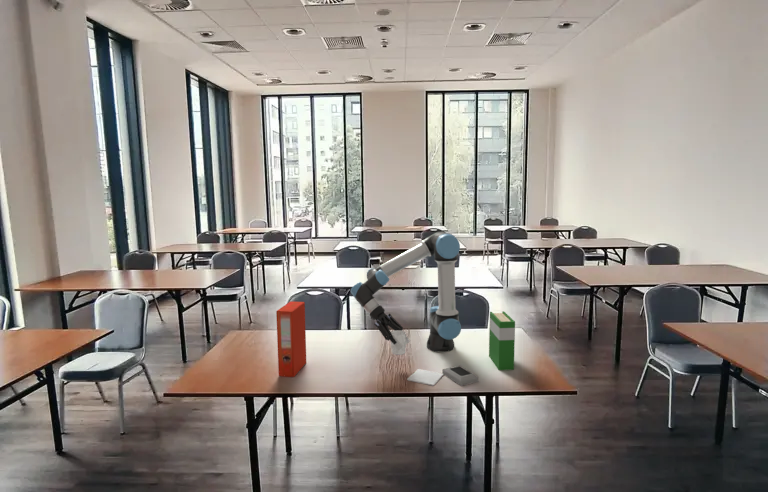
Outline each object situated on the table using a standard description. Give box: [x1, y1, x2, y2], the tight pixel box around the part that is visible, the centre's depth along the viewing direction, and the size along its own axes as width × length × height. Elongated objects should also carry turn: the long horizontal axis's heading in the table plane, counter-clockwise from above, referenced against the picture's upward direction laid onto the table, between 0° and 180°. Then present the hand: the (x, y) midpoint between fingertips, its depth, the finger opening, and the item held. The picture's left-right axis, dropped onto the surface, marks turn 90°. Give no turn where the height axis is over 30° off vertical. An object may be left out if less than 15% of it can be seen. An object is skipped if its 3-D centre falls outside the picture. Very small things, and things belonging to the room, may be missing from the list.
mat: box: [406, 368, 445, 387], centre depth 213 cm, size 13×13×1 cm
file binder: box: [275, 301, 307, 378], centre depth 223 cm, size 8×17×32 cm, turn 170°
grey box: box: [442, 365, 479, 387], centre depth 213 cm, size 10×4×15 cm
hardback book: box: [488, 311, 516, 371], centre depth 228 cm, size 18×7×24 cm, turn 2°
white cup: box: [389, 330, 407, 356], centre depth 223 cm, size 8×8×10 cm
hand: (404, 345), depth 221 cm, fingers closed on white cup, 8 cm apart
